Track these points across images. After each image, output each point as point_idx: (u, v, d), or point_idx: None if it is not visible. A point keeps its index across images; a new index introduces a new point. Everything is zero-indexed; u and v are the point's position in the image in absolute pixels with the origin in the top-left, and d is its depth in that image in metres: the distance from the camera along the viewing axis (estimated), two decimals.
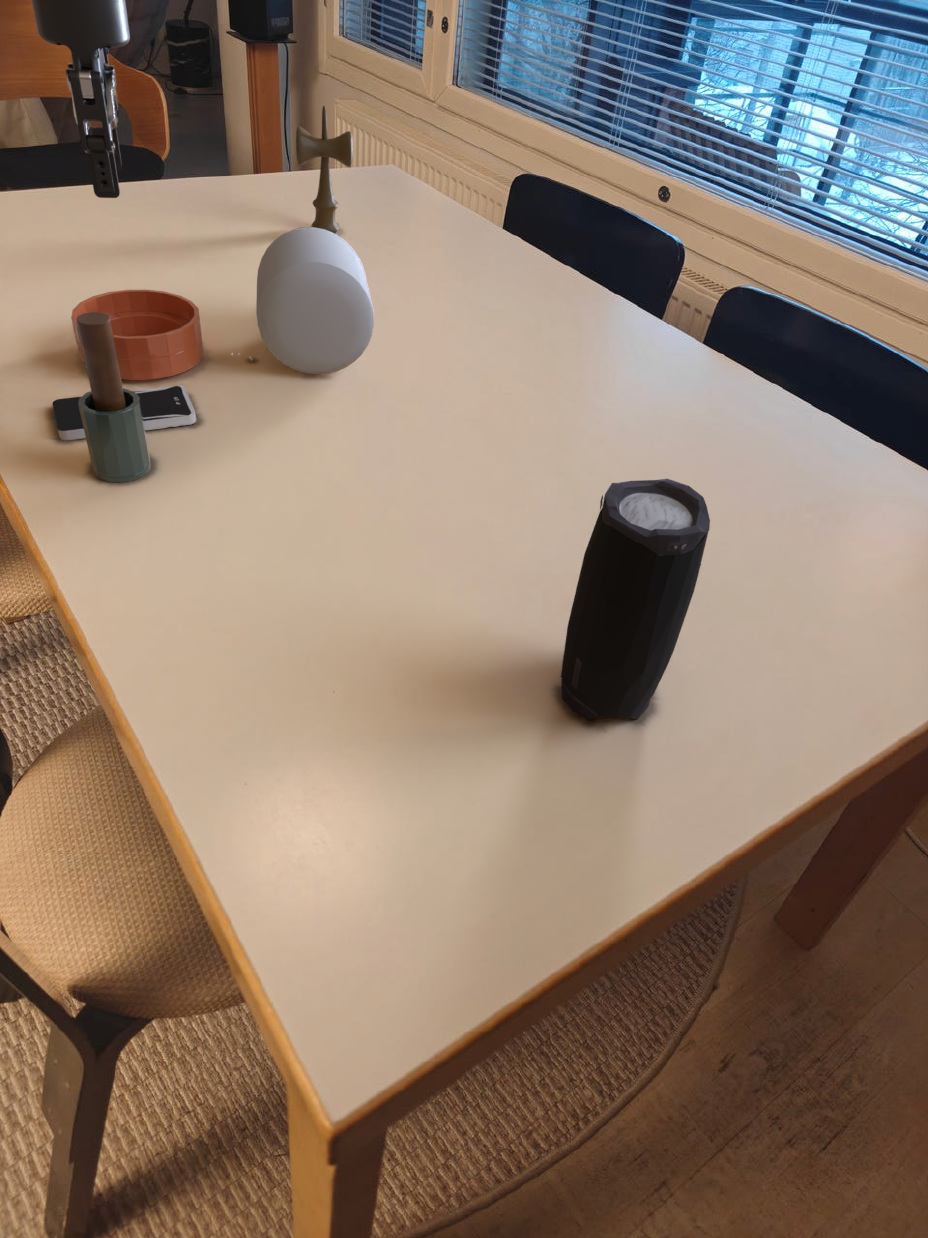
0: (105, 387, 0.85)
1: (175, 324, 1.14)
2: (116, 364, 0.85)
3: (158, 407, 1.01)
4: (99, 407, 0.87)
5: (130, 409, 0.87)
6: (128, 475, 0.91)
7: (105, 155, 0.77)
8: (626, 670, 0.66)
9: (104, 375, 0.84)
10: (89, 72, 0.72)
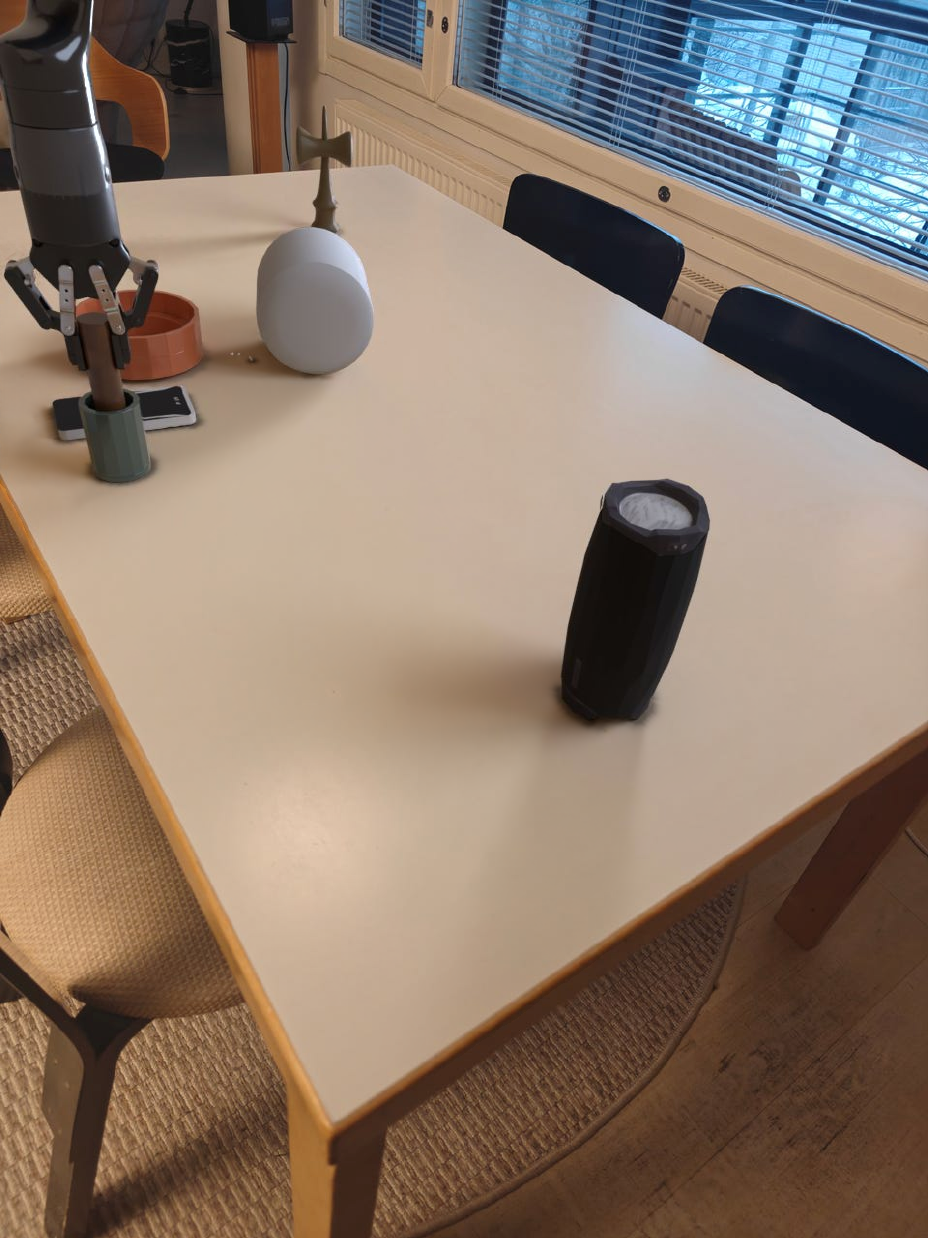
0: (106, 387, 0.85)
1: (175, 324, 1.14)
2: (116, 364, 0.85)
3: (158, 407, 1.01)
4: (99, 407, 0.87)
5: (130, 409, 0.87)
6: (128, 475, 0.91)
7: (62, 332, 0.82)
8: (626, 670, 0.66)
9: (104, 375, 0.84)
10: (6, 268, 0.77)
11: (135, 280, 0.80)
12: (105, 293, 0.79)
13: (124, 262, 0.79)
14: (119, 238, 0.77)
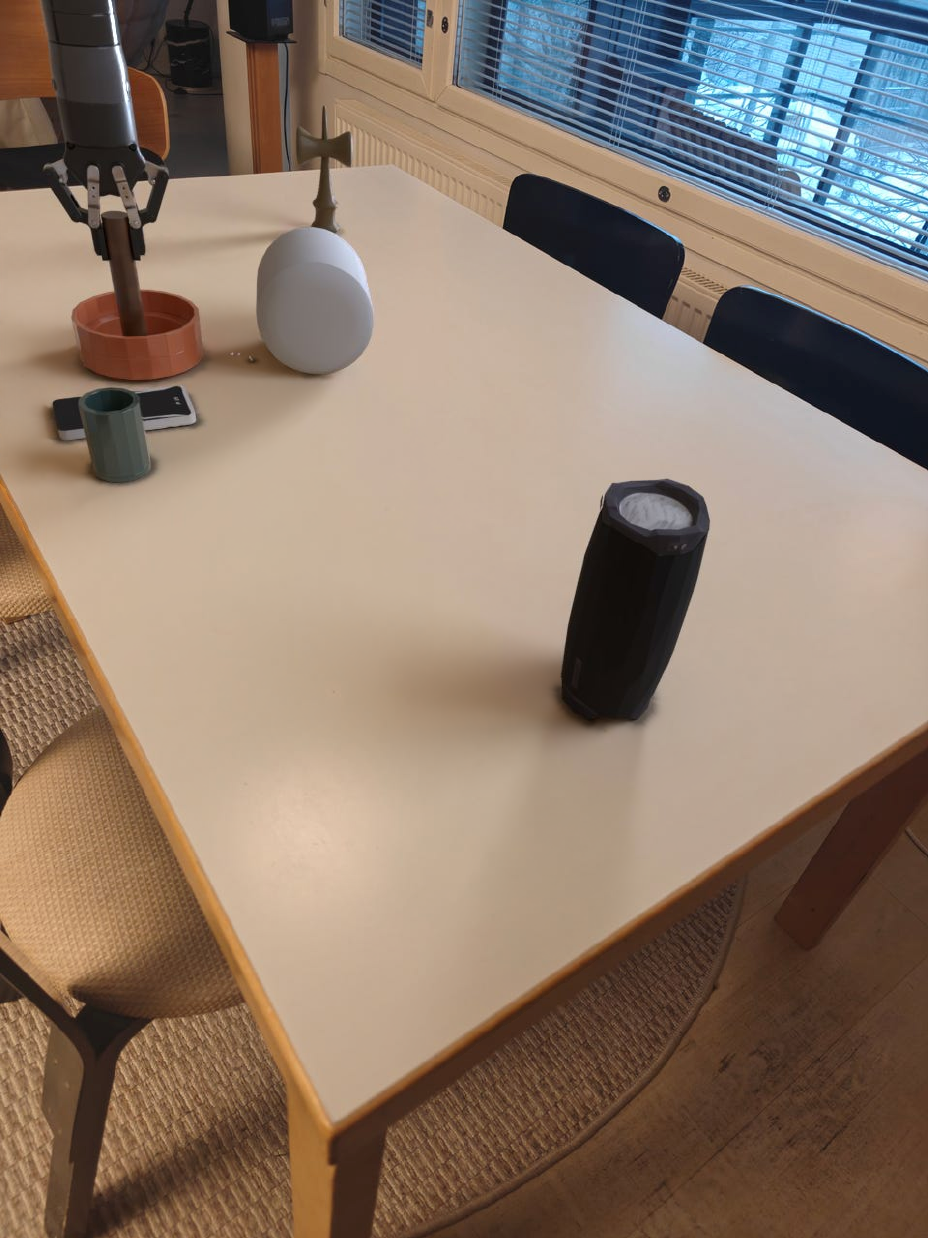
0: (124, 275, 1.02)
1: (175, 324, 1.14)
2: (133, 256, 1.02)
3: (158, 407, 1.01)
4: (119, 294, 1.04)
5: (130, 409, 0.87)
6: (128, 475, 0.91)
7: None
8: (626, 670, 0.66)
9: (123, 264, 1.01)
10: (44, 168, 0.94)
11: (149, 181, 0.97)
12: (125, 191, 0.96)
13: (141, 164, 0.95)
14: (137, 143, 0.94)
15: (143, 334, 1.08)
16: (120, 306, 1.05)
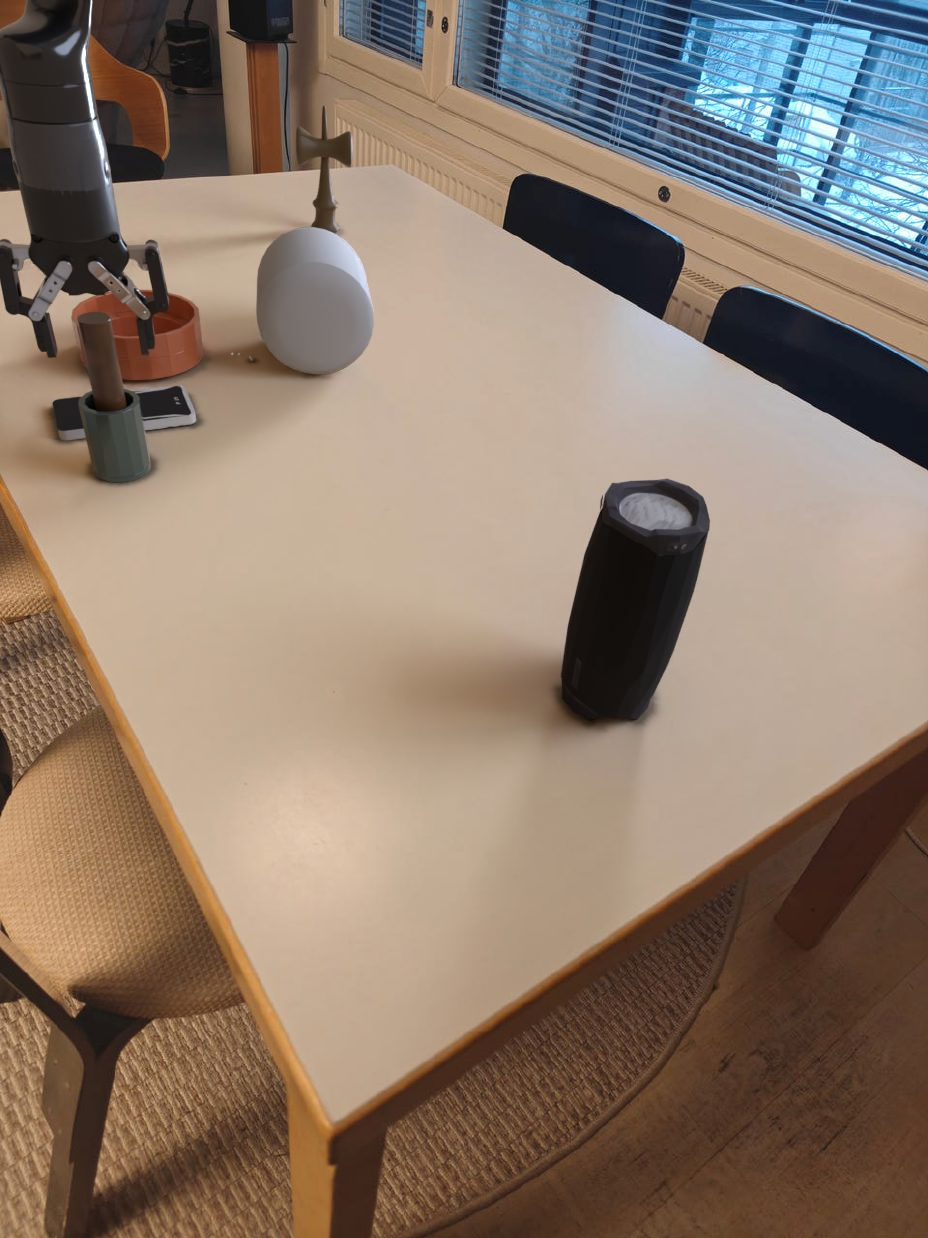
0: (106, 387, 0.85)
1: (175, 324, 1.14)
2: (117, 364, 0.85)
3: (158, 407, 1.01)
4: (100, 407, 0.87)
5: (130, 409, 0.87)
6: (128, 475, 0.91)
7: (30, 318, 0.80)
8: (626, 670, 0.66)
9: (104, 374, 0.84)
10: None
11: (142, 267, 0.80)
12: (114, 284, 0.79)
13: (123, 258, 0.78)
14: (118, 234, 0.77)
15: None
16: None
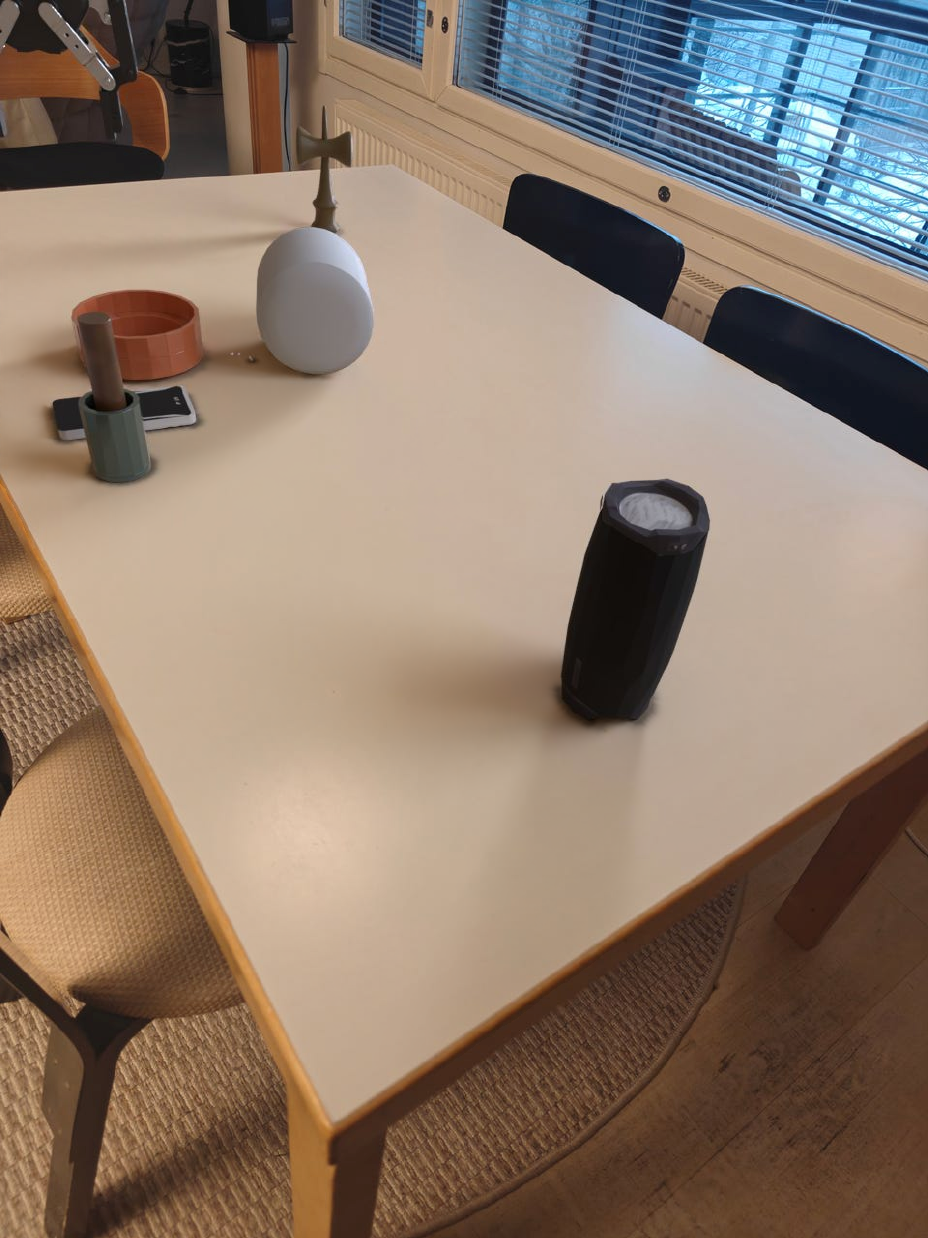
0: (106, 387, 0.85)
1: (175, 324, 1.14)
2: (117, 364, 0.85)
3: (158, 407, 1.01)
4: (100, 407, 0.87)
5: (130, 409, 0.87)
6: (128, 475, 0.91)
7: None
8: (626, 670, 0.66)
9: (104, 374, 0.84)
10: None
11: (104, 20, 0.67)
12: (71, 38, 0.66)
13: (81, 4, 0.66)
14: None
15: None
16: None
